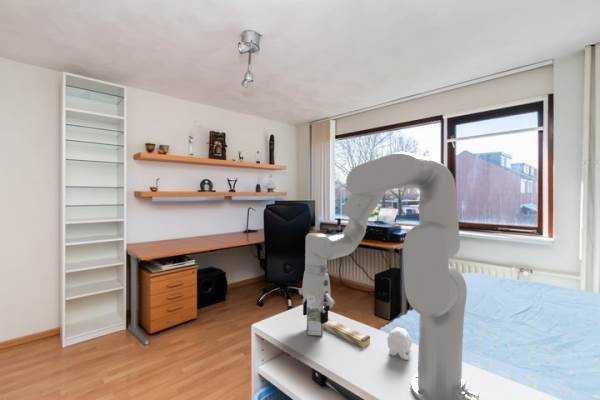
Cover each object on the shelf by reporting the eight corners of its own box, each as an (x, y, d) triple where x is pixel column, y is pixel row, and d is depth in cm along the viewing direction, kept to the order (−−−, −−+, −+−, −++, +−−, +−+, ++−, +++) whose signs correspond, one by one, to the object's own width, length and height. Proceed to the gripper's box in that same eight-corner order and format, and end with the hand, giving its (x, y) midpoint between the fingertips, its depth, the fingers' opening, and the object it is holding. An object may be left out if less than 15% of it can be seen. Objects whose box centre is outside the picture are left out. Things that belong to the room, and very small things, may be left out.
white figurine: (386, 328, 82) (396, 317, 92) (385, 357, 82) (395, 343, 92) (408, 334, 79) (416, 322, 89) (407, 365, 78) (415, 349, 88)
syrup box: (323, 328, 99) (323, 288, 99) (323, 337, 93) (323, 294, 93) (307, 327, 100) (307, 288, 99) (306, 336, 94) (306, 294, 94)
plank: (369, 343, 90) (370, 336, 90) (363, 347, 87) (363, 340, 87) (320, 319, 106) (321, 313, 106) (314, 322, 104) (314, 316, 103)
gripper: (342, 272, 92) (341, 323, 92) (306, 262, 105) (305, 307, 105) (327, 276, 87) (326, 331, 87) (291, 265, 100) (291, 313, 100)
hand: (315, 318), depth 96 cm, fingers closed on syrup box, 8 cm apart
